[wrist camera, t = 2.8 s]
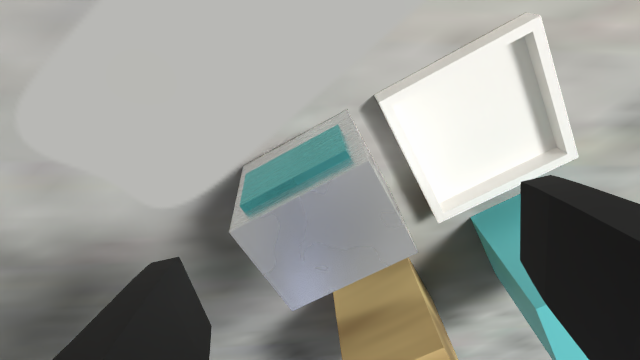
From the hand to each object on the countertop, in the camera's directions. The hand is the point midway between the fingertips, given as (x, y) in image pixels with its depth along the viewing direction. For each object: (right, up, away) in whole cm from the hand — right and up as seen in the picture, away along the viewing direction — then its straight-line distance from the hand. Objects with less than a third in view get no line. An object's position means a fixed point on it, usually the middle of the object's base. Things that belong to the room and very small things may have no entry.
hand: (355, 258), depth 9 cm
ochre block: (+3, -4, +13) cm, 14 cm away
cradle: (+6, +4, +9) cm, 11 cm away
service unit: (-1, +2, +9) cm, 10 cm away
